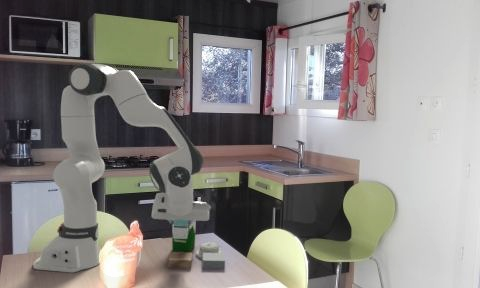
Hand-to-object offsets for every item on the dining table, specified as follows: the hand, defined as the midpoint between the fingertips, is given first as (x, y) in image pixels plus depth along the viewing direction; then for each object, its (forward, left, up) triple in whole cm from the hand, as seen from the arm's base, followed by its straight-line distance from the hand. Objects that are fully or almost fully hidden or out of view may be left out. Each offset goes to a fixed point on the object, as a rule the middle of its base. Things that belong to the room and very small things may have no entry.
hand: (181, 222), depth 158 cm
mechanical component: (+11, +9, -16) cm, 21 cm away
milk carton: (0, +16, -16) cm, 23 cm away
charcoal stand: (+12, -1, -15) cm, 20 cm away
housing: (0, -1, -5) cm, 5 cm away
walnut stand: (0, -1, -15) cm, 15 cm away
